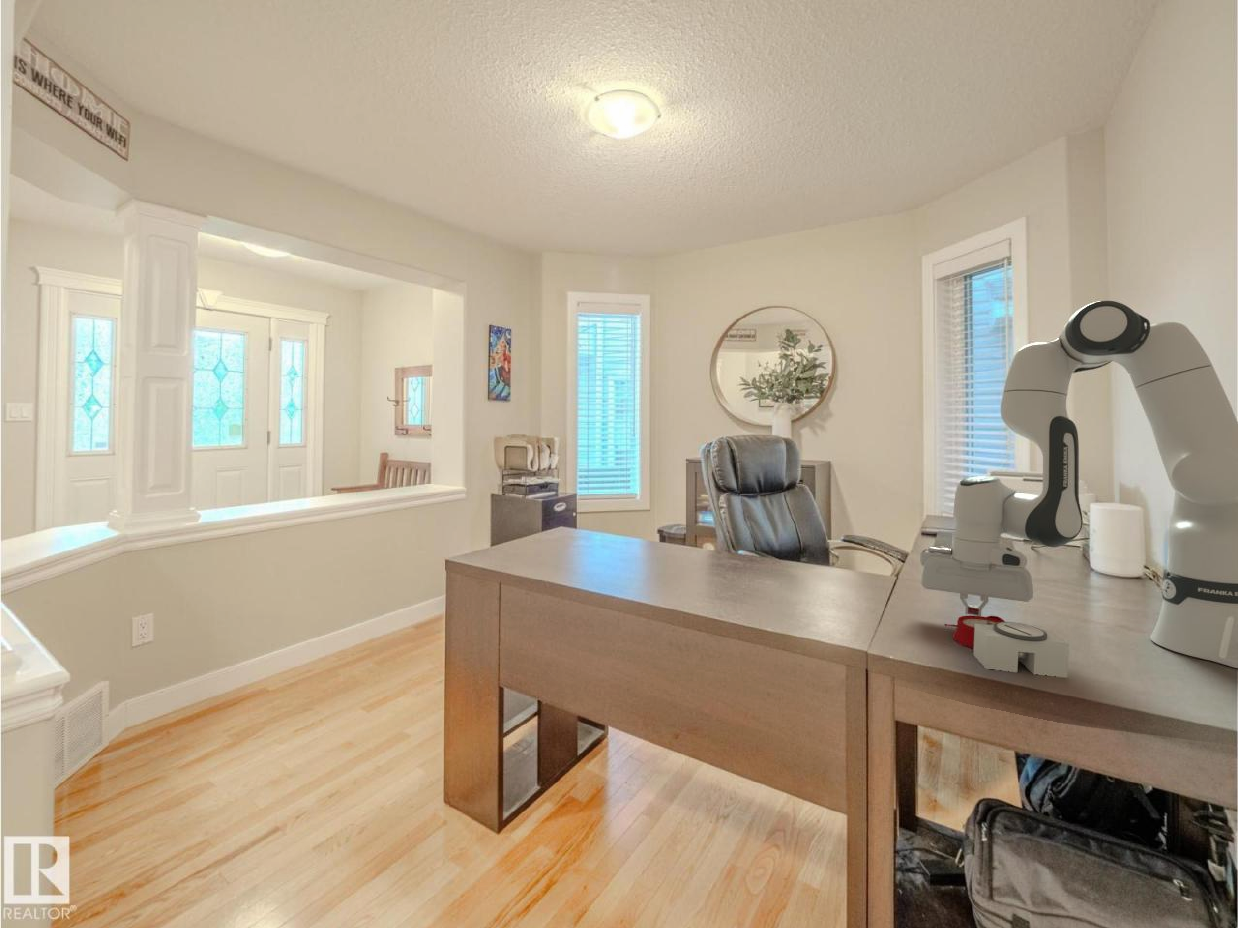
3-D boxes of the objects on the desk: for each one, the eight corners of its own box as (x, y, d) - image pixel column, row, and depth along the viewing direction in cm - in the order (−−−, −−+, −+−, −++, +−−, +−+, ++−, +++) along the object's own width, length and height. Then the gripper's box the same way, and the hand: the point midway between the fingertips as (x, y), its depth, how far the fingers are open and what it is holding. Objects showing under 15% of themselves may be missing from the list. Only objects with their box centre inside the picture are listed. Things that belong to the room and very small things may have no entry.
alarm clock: (936, 618, 110) (996, 597, 113) (941, 647, 111) (1000, 625, 114) (981, 638, 100) (1045, 614, 103) (986, 669, 101) (1050, 645, 104)
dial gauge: (1047, 661, 98) (1049, 624, 98) (1069, 679, 91) (1071, 640, 90) (971, 653, 101) (973, 617, 101) (987, 670, 94) (988, 632, 94)
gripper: (920, 548, 120) (917, 610, 120) (1036, 560, 109) (1032, 627, 110) (920, 543, 125) (918, 602, 126) (1031, 554, 115) (1028, 618, 116)
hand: (972, 614), depth 118 cm, fingers closed
